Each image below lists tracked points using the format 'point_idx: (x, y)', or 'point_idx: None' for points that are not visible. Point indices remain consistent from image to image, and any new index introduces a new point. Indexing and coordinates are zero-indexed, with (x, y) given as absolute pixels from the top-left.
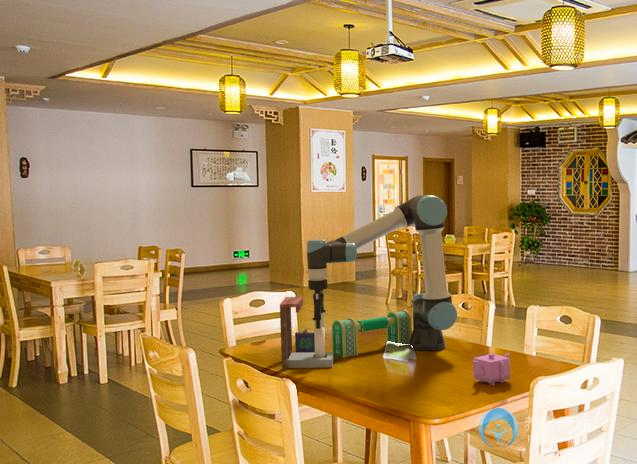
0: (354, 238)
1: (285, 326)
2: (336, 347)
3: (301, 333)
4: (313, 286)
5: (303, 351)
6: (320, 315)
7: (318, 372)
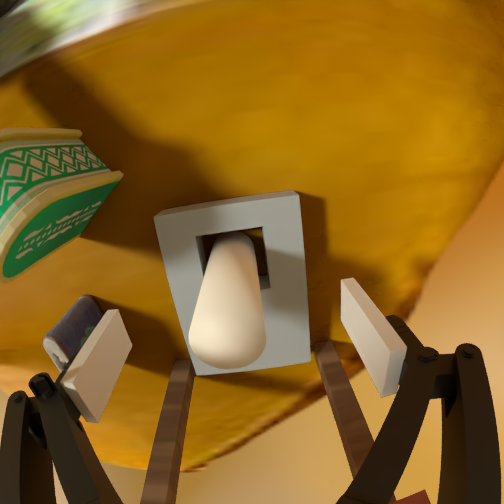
0: None
1: None
2: (78, 223)
3: None
4: None
5: None
6: (479, 364)
7: (366, 230)
